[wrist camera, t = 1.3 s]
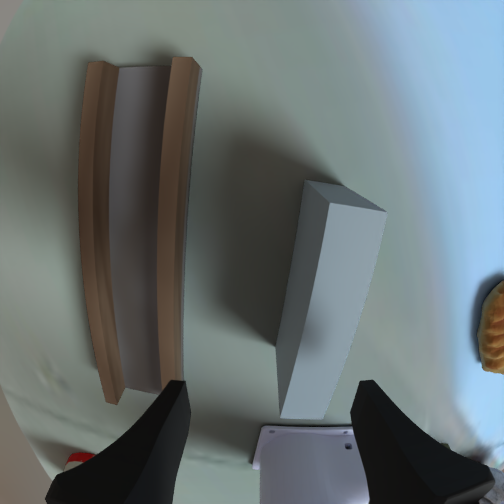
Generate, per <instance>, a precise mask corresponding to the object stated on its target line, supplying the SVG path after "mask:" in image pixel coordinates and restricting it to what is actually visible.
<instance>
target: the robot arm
mask: <svg viewBox="0 0 504 504" xmlns="http://www.w3.org/2000/svg"><path fill="white" fill-rule="evenodd" d="M350 414H351V421H352V427H286V426H263V427H262V428H261V431H260V435H259V440H258V444H257V448H256V452H255V455H254V459H253V463H252V468H253V469H256V470H260V504H368V503H369V500H370V504H480V503H479V500H480V499H482V498H483V497H484V496H485V495H486V494H487V493H488V492H489V491H490V490H491V489H492V488H493V486H494V485H495V483H496V482H495V479H494V477H493V474H492V472H491V470H490V468H489V467H488V466H487V465H484V464H481V463H478V462H476V461H473V460H470V459H468V458H466V457H464V456H462V455H460V454H458V453H456V452H454V451H452V450H450V449H449V448H447V447H445V446H444V445H442V444H440V443H439V442H437V441H436V440H435V439H433V438H432V437H430V436H429V435H428V434H427V433H425V432H424V431H423V430H421V429H420V428H419V427H418V426H417V425H416V424H415V423H413V422H412V421H411V420H410V419H409V418H408V417H407V416H406V415H405V414H404V413H403V412H402V411H401V410H400V409H399V408H398V407H397V406H396V405H395V404H394V402H393V401H392V400H391V399H390V398H389V397H388V396H387V395H386V394H385V392H384V391H383V390H382V389H381V388H380V387H379V386H378V384H377V383H376V382H375V381H374V380H365V381H360V382H359V386H358V389H357V392H356V395H355V399H354V402H353V405H352V408H351V411H350ZM190 417H191V410H190V404H189V398H188V393H187V387H186V381H180V380H170V381H169V382H168V384H167V385H166V386H165V388H164V389H163V391H162V392H161V393H160V395H159V396H158V397H157V398H156V400H155V401H154V402H153V403H152V405H151V406H150V407H149V408H148V409H147V410H146V412H145V413H144V414H143V415H142V416H141V417H140V418H139V419H138V420H137V421H136V422H135V424H134V425H133V426H132V427H131V428H130V429H129V430H127V431H126V432H125V433H124V434H123V435H122V436H121V437H120V438H118V439H117V440H116V441H115V442H114V443H112V444H111V445H110V446H108V447H107V448H106V449H104V450H103V451H101V452H100V453H99V454H97V455H95V456H94V457H92V458H90V459H89V460H87V461H85V462H83V463H82V464H80V465H78V466H76V467H74V468H72V469H69V470H67V471H65V472H63V473H60V474H58V475H56V477H55V479H54V480H53V482H52V484H51V486H50V488H49V491H48V493H47V495H46V498H45V500H46V502H47V504H172V502H173V494H174V487H175V481H176V476H177V472H178V468H179V465H180V461H181V458H182V454H183V450H184V447H185V443H186V439H187V436H188V431H189V424H190ZM499 504H504V501H503V502H501V503H499Z"/></svg>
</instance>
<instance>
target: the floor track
mask: <svg viewBox="0 0 504 504" xmlns="http://www.w3.org/2000/svg"><path fill="white" fill-rule="evenodd" d="M201 76H202V68H201V67H200V66H199V65H198V63H197V62H196V61H195V60H194V59H193V57H173V60H172V66H142V67H124V68H119V67H117V66H114V65H112V64H110V63H107V62H105V61H98V62H89V63H88V68H87V74H86V81H85V89H84V97H83V106H82V116H81V128H80V142H79V166H78V212H79V236H80V251H81V263H82V273H83V283H84V291H85V299H86V306H87V313H88V319H89V325H90V331H91V337H92V342H93V348H94V353H95V358H96V362H97V367H98V371H99V376H100V380H101V384H102V388H103V392H104V396H105V400H106V402H107V403H111V404H115V405H117V404H118V402H119V400H120V398H121V396H122V393H123V391H124V389H125V387H126V388H130V389H135V390H139V391H144V392H148V393H153V394H158V395H160V393H161V392H162V391H163V389H164V388H165V386H166V385H167V384H168V382H169V381H170V380H180V381H184V375H183V318H184V277H185V252H186V233H187V216H188V201H189V188H190V176H191V164H192V153H193V143H194V133H195V124H196V115H197V107H198V99H199V91H200V83H201Z"/></svg>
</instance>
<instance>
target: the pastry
mask: <svg viewBox="0 0 504 504" xmlns="http://www.w3.org/2000/svg"><path fill="white" fill-rule="evenodd" d="M477 337H478V343H479V353H480V358H481V364H482V368H483V370H484V371H487V372H489V371H490V372H493V373H501V374H504V280H503V281H502V282H501V283H500V284H498V285H497V286H496V287H495V288H494V289H493V290H492V291H491V292H490V294H489V295H488V296H487V298H486V299H485V300H484V302H483V305H482V316H481V319H480V324H479V327H478V330H477Z"/></svg>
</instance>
